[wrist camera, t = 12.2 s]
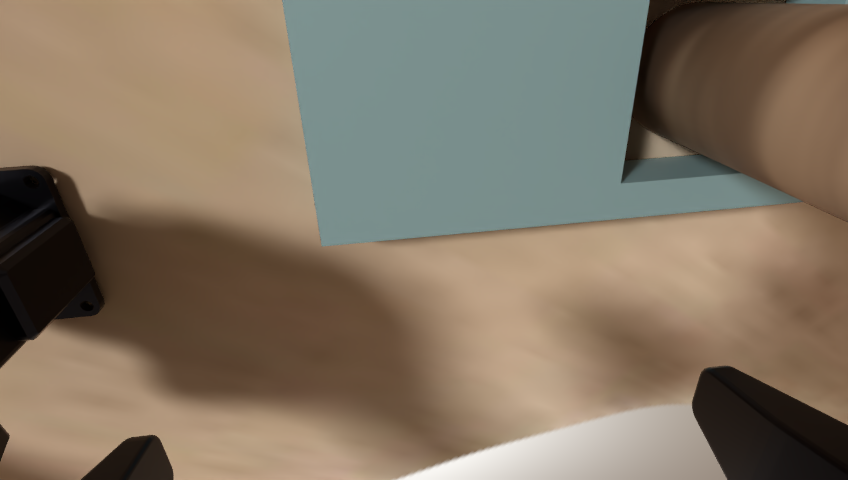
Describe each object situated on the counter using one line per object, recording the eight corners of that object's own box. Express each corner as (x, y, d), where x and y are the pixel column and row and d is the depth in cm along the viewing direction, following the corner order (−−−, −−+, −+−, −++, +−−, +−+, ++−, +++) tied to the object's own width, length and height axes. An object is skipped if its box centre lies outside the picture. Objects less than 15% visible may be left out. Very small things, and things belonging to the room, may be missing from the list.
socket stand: (326, 218, 20) (321, 246, 18) (283, -61, 15) (270, -71, 13) (766, 180, 22) (812, 200, 20) (846, -82, 17) (918, -93, 15)
